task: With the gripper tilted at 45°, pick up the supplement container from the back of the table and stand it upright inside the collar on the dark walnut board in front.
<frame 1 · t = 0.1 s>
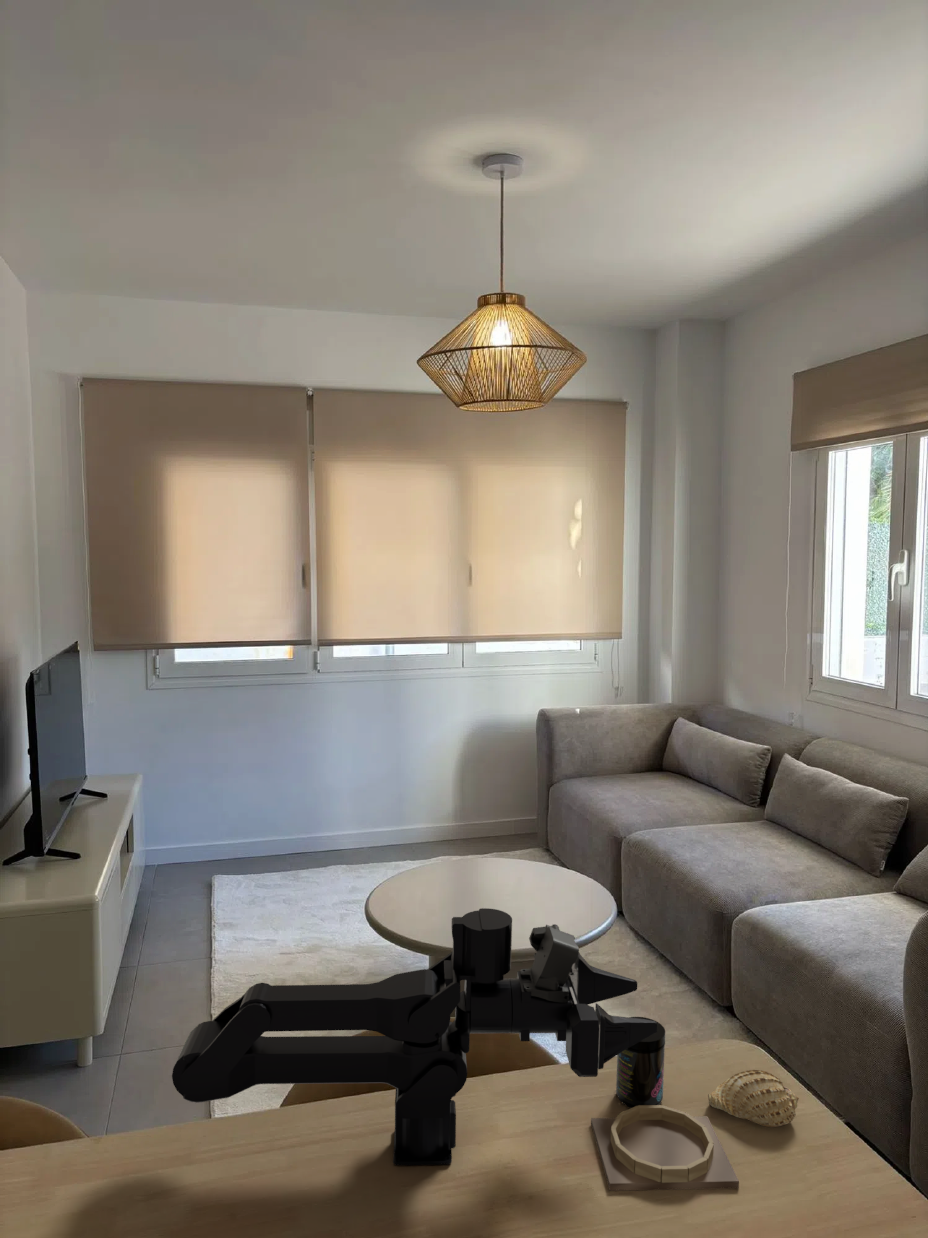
hand: (646, 1005, 103), 17 cm above the table, fingers open, 9 cm apart
seashell: (750, 1117, 110), on the table
collar board: (661, 1155, 103), on the table
supplement container: (639, 1099, 113), on the table
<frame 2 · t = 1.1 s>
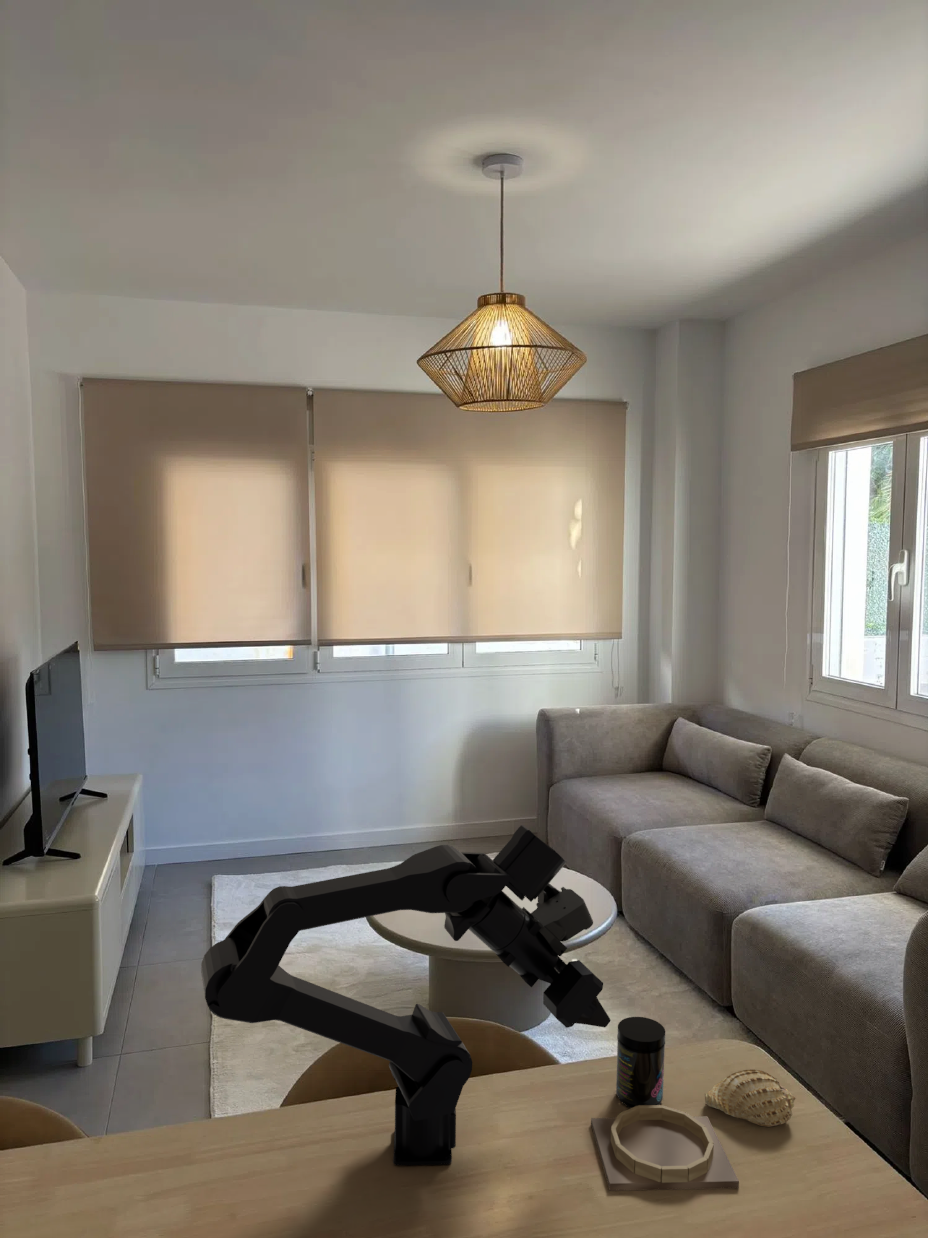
hand: (588, 1004, 110), 13 cm above the table, fingers open, 9 cm apart
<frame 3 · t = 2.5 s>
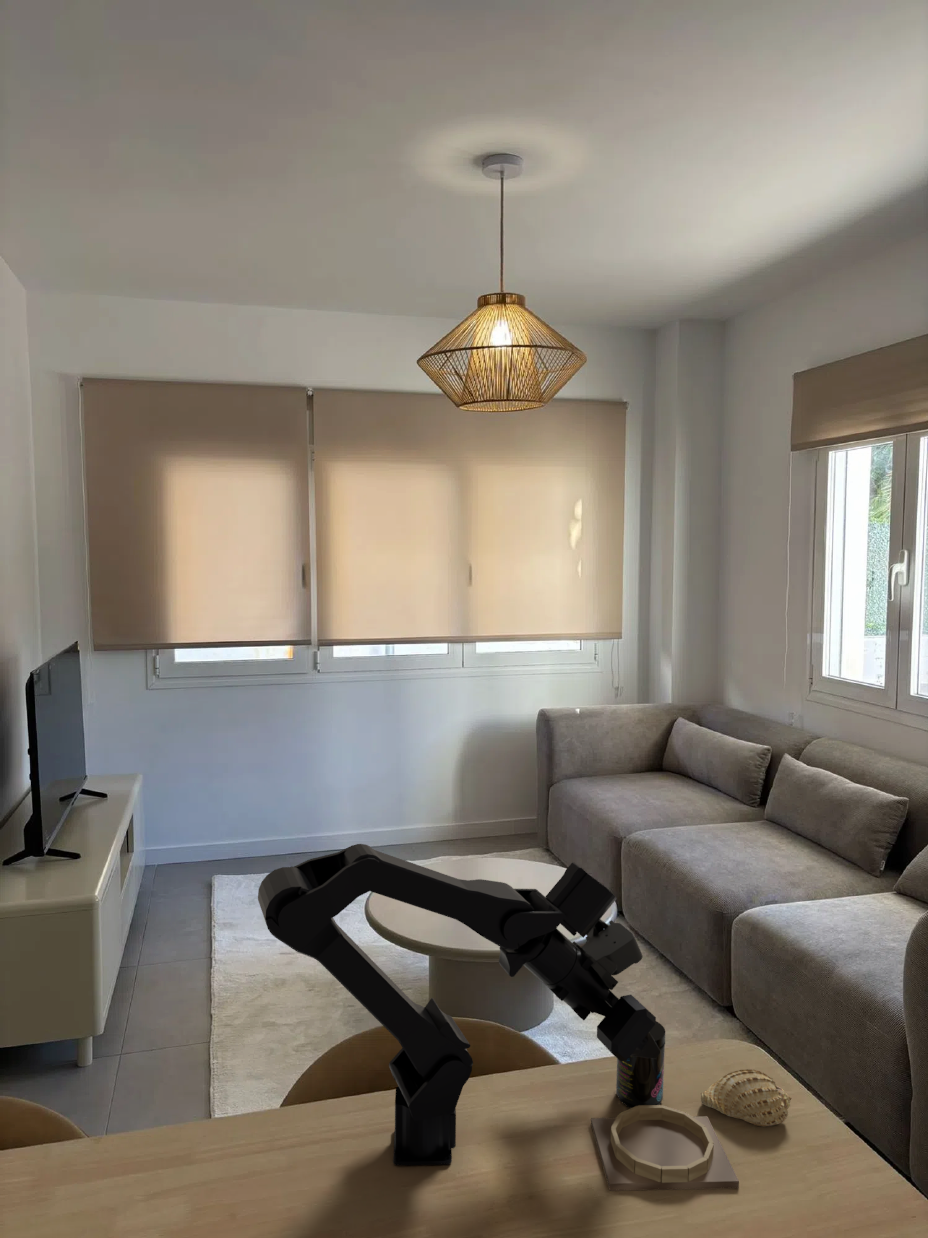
hand: (637, 1035, 112), 8 cm above the table, fingers open, 9 cm apart
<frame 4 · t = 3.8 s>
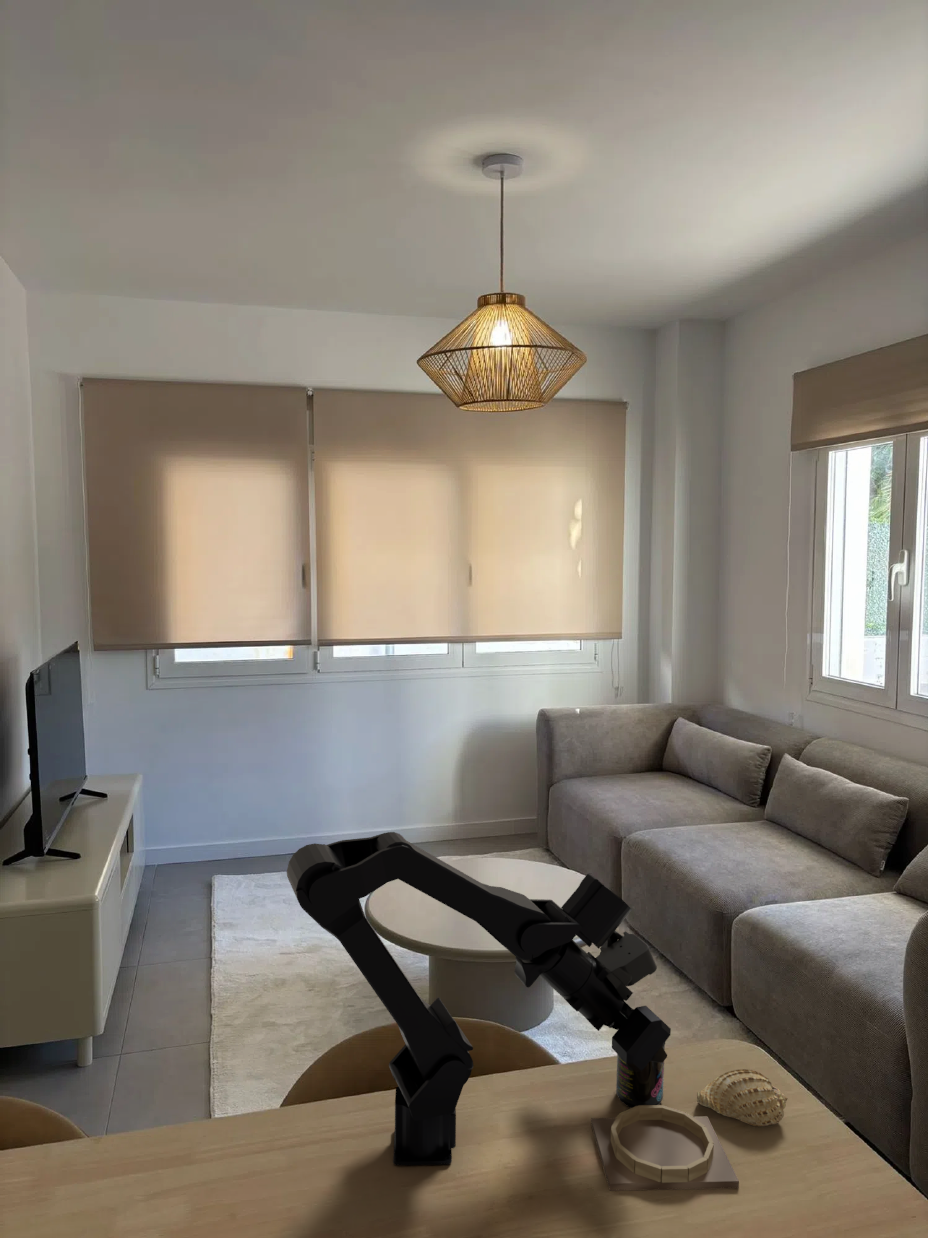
hand: (650, 1045, 113), 7 cm above the table, fingers closed on supplement container, 6 cm apart
supplement container: (639, 1099, 113), on the table, touching gripper
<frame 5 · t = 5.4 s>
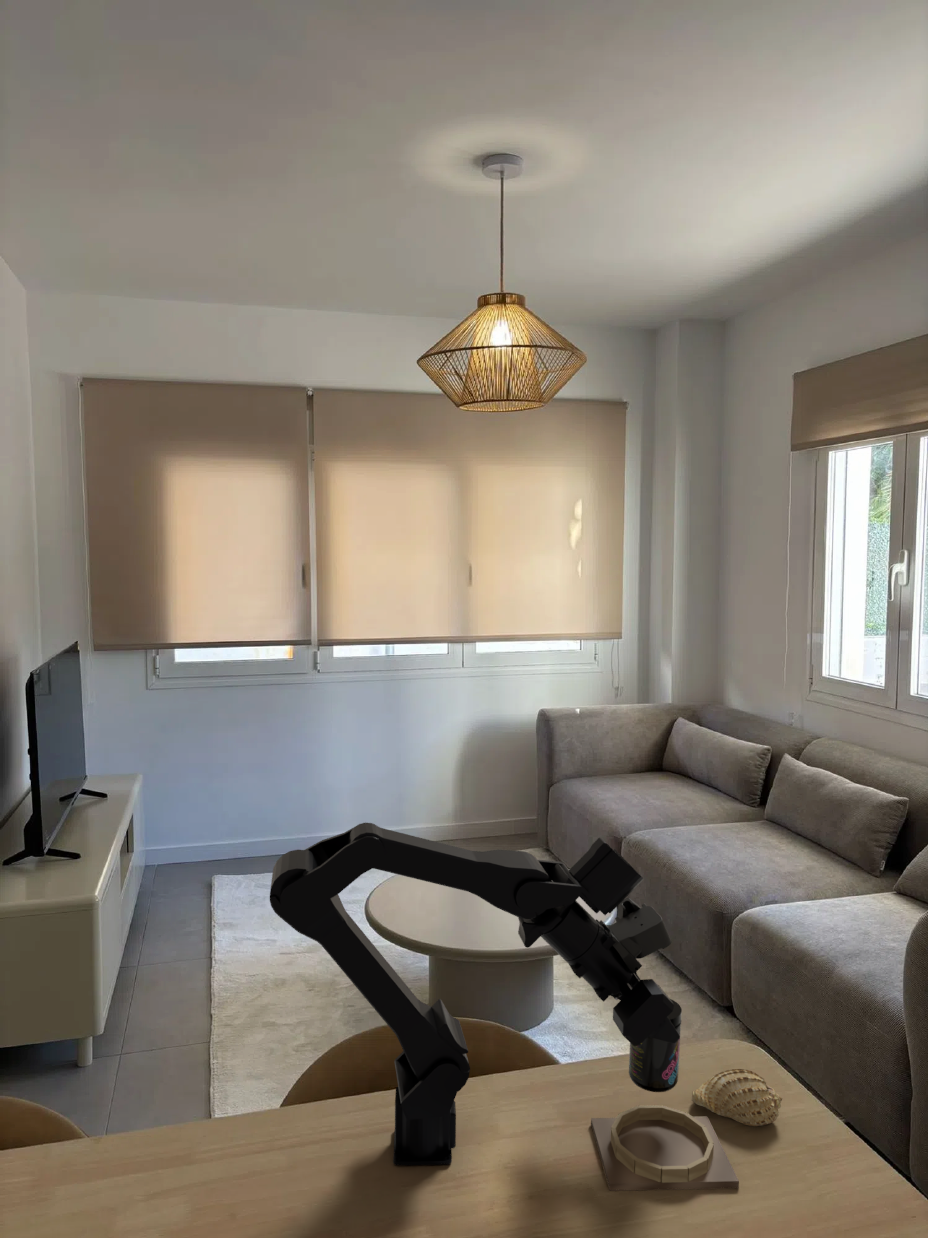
hand: (666, 1025, 107), 12 cm above the table, fingers closed on supplement container, 6 cm apart
supplement container: (653, 1081, 108), point 5 cm above the table, touching gripper
when the fingers open (9 cm above the table, at t = 7.1 s): supplement container drops 1 cm, resting on collar board.
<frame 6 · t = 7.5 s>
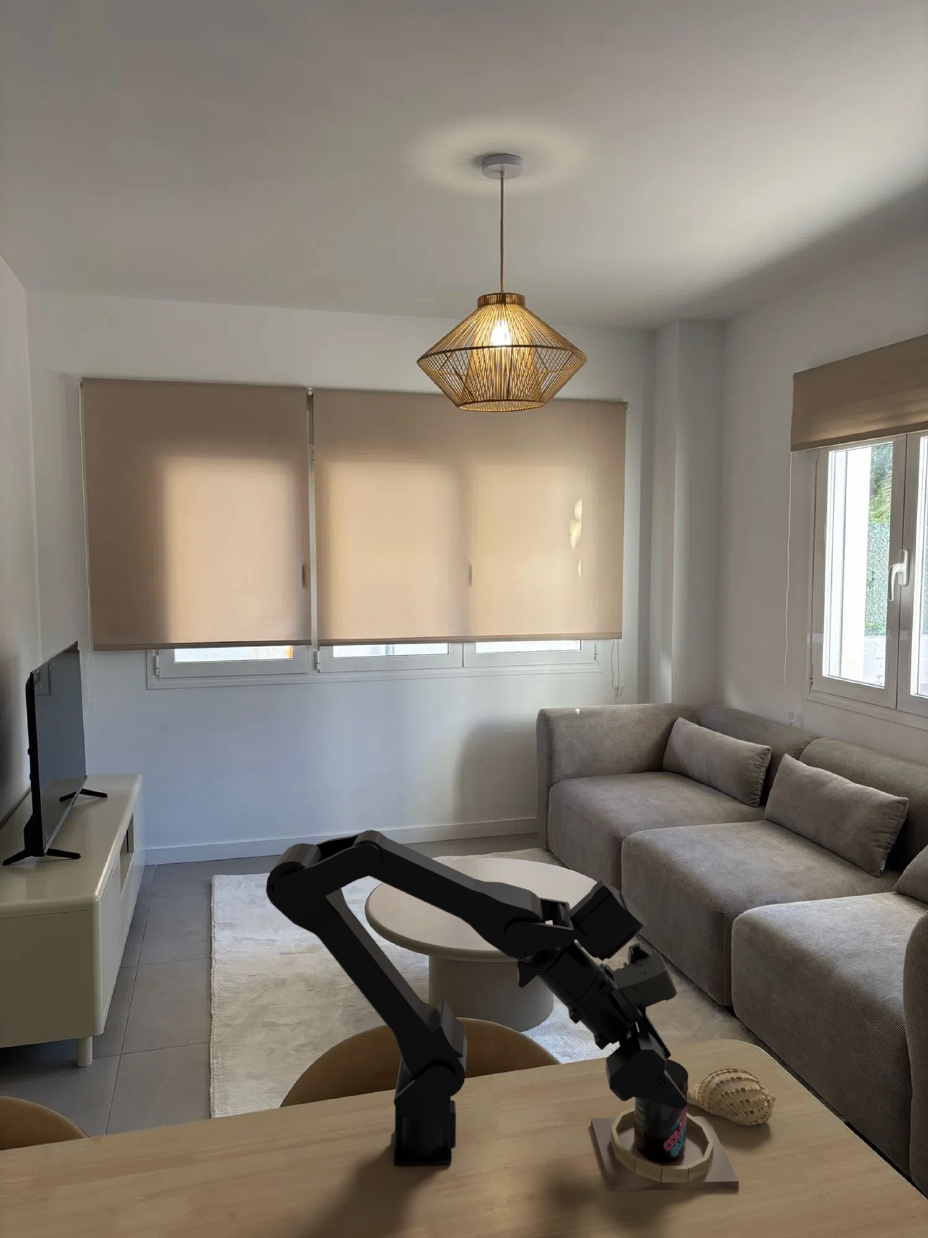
hand: (676, 1080, 102), 9 cm above the table, fingers open, 9 cm apart
supplement container: (659, 1149, 103), point 1 cm above the table, touching collar board
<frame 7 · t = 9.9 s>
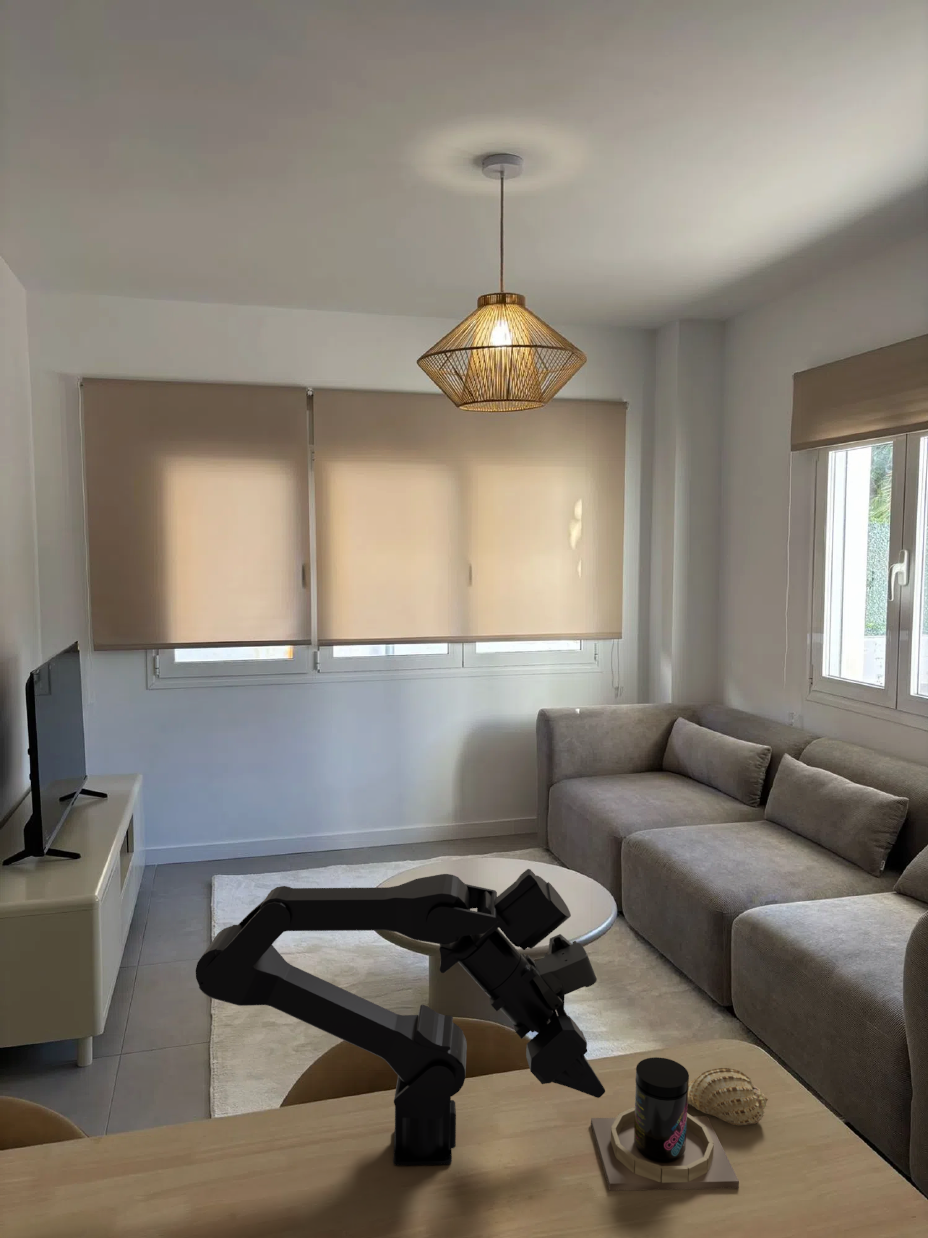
hand: (592, 1073, 102), 9 cm above the table, fingers open, 9 cm apart
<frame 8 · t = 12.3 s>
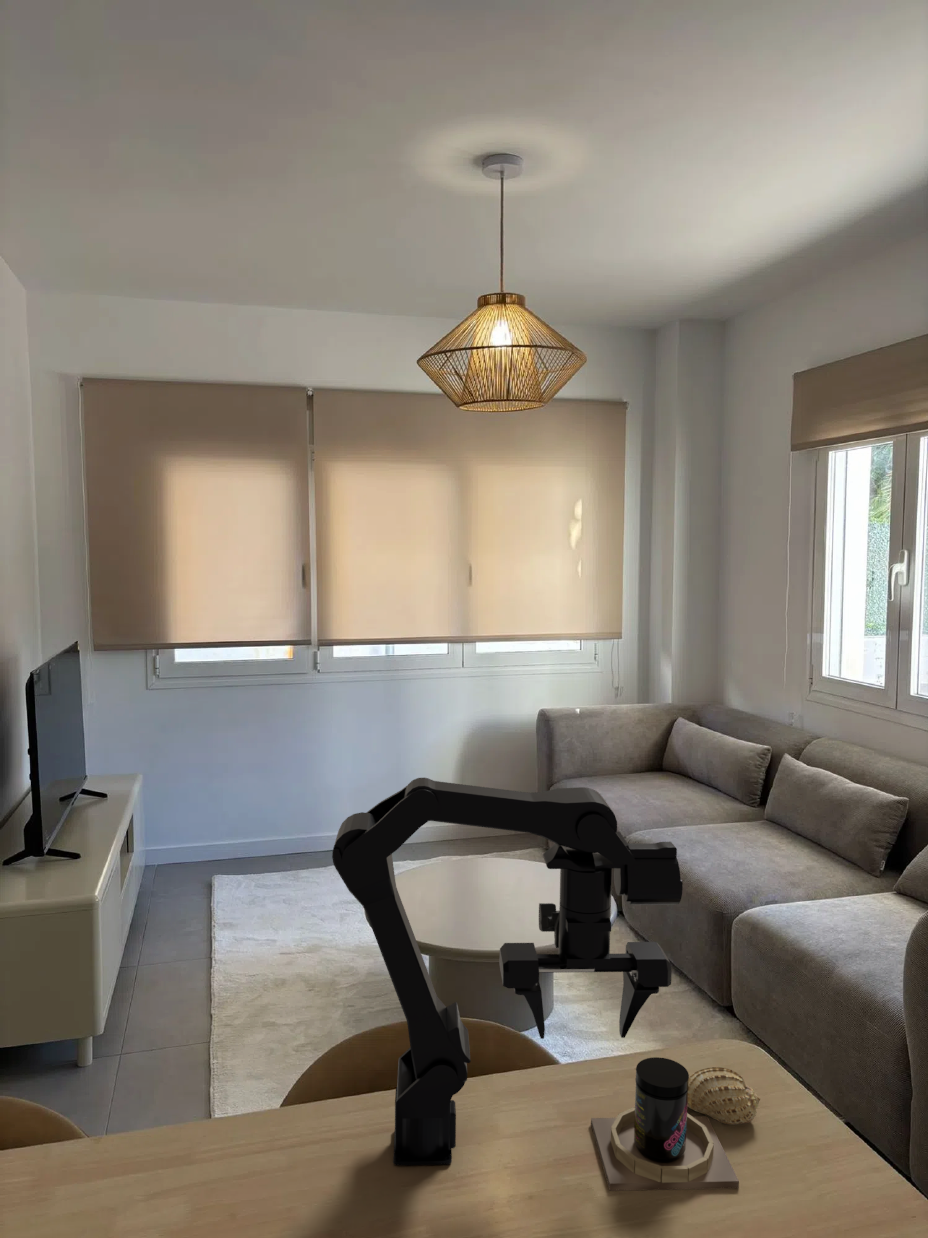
hand: (582, 1036, 103), 13 cm above the table, fingers open, 9 cm apart
at the end: supplement container 0.2 cm off-centre on the collar board, point 0.6 cm above the collar board's base; supplement container tilted 0°; the gripper is holding nothing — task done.
